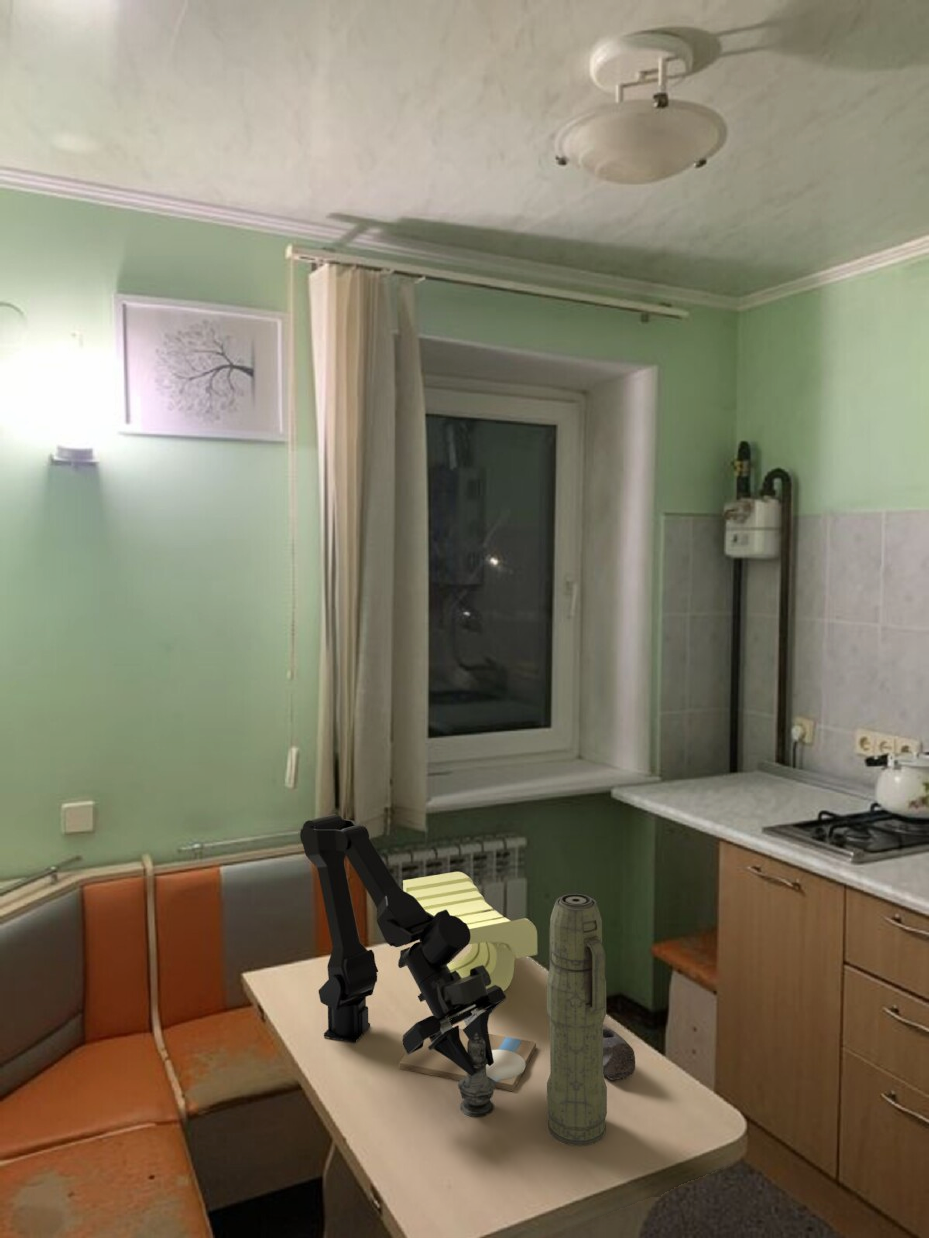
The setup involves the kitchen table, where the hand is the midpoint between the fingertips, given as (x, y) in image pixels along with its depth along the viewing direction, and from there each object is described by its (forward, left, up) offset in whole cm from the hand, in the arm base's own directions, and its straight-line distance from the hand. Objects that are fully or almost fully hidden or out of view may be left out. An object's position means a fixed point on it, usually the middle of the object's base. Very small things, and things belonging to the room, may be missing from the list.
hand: (482, 1069), depth 141 cm
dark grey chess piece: (-1, +1, -7) cm, 7 cm away
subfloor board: (-7, +14, -7) cm, 17 cm away
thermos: (+15, +1, -7) cm, 16 cm away
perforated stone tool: (+14, +19, -7) cm, 25 cm away
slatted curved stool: (-17, +40, -7) cm, 44 cm away
